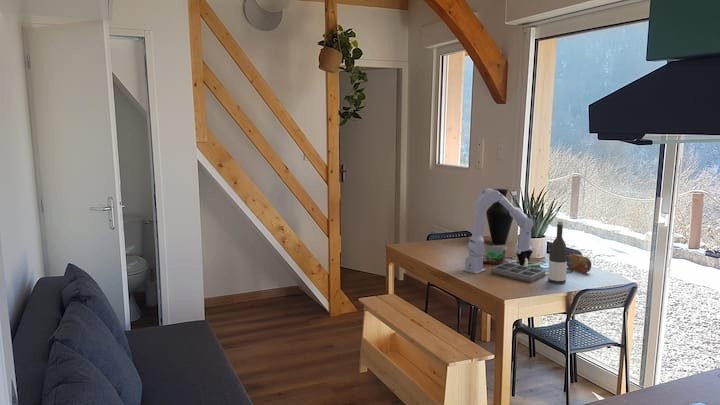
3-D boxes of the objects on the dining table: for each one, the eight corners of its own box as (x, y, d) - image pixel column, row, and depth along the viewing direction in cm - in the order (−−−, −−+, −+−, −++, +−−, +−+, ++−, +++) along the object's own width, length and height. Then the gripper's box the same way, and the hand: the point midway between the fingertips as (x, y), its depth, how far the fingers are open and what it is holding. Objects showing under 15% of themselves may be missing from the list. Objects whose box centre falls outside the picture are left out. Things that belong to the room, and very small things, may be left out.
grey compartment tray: (531, 282, 247) (531, 276, 246) (491, 273, 262) (491, 268, 262) (545, 276, 257) (545, 270, 257) (505, 267, 273) (505, 262, 272)
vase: (485, 245, 321) (487, 191, 316) (485, 239, 338) (486, 187, 332) (513, 247, 317) (516, 191, 312) (511, 240, 334) (514, 188, 328)
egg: (525, 269, 270) (525, 258, 269) (518, 267, 272) (518, 257, 271) (528, 267, 272) (529, 257, 271) (521, 266, 275) (522, 255, 274)
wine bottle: (556, 285, 243) (560, 223, 239) (544, 280, 251) (547, 220, 246) (569, 282, 246) (573, 222, 242) (556, 278, 254) (560, 219, 249)
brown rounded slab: (564, 267, 273) (565, 252, 272) (569, 266, 274) (570, 251, 273) (587, 274, 259) (588, 258, 258) (591, 274, 261) (593, 258, 259)
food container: (481, 263, 281) (482, 245, 280) (484, 260, 287) (485, 243, 285) (504, 266, 276) (504, 248, 274) (506, 263, 281) (507, 245, 280)
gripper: (525, 243, 262) (524, 268, 264) (538, 238, 272) (537, 263, 274) (512, 241, 267) (511, 265, 269) (526, 236, 277) (524, 260, 279)
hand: (523, 264), depth 272 cm, fingers closed on egg, 4 cm apart
